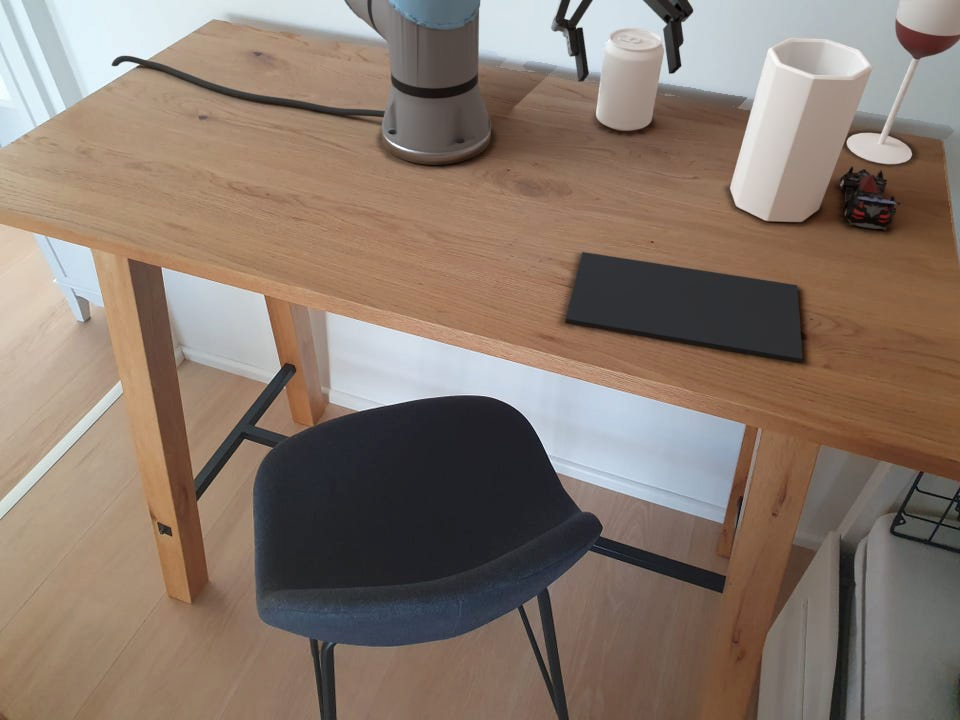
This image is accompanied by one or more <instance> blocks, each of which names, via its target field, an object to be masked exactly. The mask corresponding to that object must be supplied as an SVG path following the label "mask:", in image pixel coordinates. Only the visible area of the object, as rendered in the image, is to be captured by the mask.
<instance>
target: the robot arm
mask: <svg viewBox="0 0 960 720" xmlns="http://www.w3.org/2000/svg"><path fill="white" fill-rule="evenodd" d="M343 1H344V3H345V4H346V6H347V7H348V8H349V10H350V11H352V13H354V15H356V17H357V18H359V19H361V20H362V21H363V22H364V23H366V24H367V25H368V26H369V27H370V28H371V29H372V30H374V32H376V33H377V34H378V35H379V36H380V37H382V38H383V40H385V41H386V42H387V45H388V56H389V57H388V58H389V70H390V82H391V83H390V85H391V86H390V90H389V94H388V99H387V102H386V106H385V110H380V109H379V110H377V109H365V108H343V107H342V108H340V107H333V106H327V105H322V104H318V103H312V102H307V101H304V100H303V101H302V100H296V99H293V98H292V99H290V98H283V97H277V96H268V95H262V94H255V93H251V92H246V91H241V90H238V89H234V88H229V87H226V86H223V85H219V84H216V83H213V82H210V81H208V80H205V79H201V78H199V77H197V76H194V75H192V74H188V73H187V72H183V71H181V70H178V69H176V68H174V67H171V66H168V65H166V64H163V63H160V62H155V61H152V60H147V59H143V58H140V57H136V56H131V55H119V56H117V57H116V58H114V59H113V61H112V63H111V66H112V67H118V66H119V65H121V64H122V63H126V62H127V63H132V64H133V63H134V64H137V65H140V66H144V67H148V68H152V69H157V70H159V71H163V72H165V73H168V74H170V75H172V76H175V77H177V78H180V79H183V80H186V81H188V82H190V83H193V84H196V85H198V86H200V87H203V88H206V89H209V90H212V91H215V92H219V93H222V94H225V95H228V96H233V97H236V98H241V99H245V100H250V101H256V102H262V103H269V104H274V105H275V104H276V105H283V106H289V107H297V108H301V109H307V110H311V111H316V112H320V113H325V114H326V113H327V114H332V115H339V116H341V115H342V116H357V117H359V116H361V117H373V118H374V117H375V118H382V122H381V139H382V143H383V146H384V147H385V149H386V150H387V151H388V152H389V153H391V154H392V155H393V156H395V157H397V158H399V159H401V160H404V161H407V162H410V163H413V164H420V165H428V166H429V165H430V166H439V165H440V166H441V165H451V164H456V163H461V162H464V161H467V160H470V159H472V158H474V157H477V156H478V155H480V154H481V153H483V152H484V151H485V150H486V149H487V148H488V146H489V145H490V142H491V140H492V139H491V137H492V135H491V133H492V131H491V130H492V125H493V124H492V123H491V122H492V121H491V118H490V116H489V112H488V110H487V107H486V104H485V101H484V98H483V95H482V92H481V88H480V86H479V53H480V51H479V50H480V49H479V46H480V43H479V42H480V41H479V40H480V8H481V0H343ZM593 1H594V0H581V1H580V3H579V5H578V6H577V7H576V9H575V10H574V12H573V14H572V15H571V17H570V18H569V19H567V18H566V15H567V12H568V10H569V6H570V3H571V0H559V1H558V5H557V7H556V10H555V13H554V17H553V19H552V22H551V25H550V29H551V30H552V32H561V33H562V36H563V37H564V38H565V41H566V48H567V55H568V56H569V57H571V58H572V57H574V60H575V67H576V76H577V81H578V83H579V82H581V83H582V82H585V80H586V79H587V77H589V74H590V72H589V64H588V57H587V50H586V42H585V35H584V28H583V27H584V26H583V27H581V26H580V27H578V25H579V23H580V21H581V20H582V18H583V16H584V15H585V14H586V12H587V11H588V9H589V8H590V6H591V4H592V2H593ZM642 1H643V2H644V3H645V4H646V5H647V6H648V7H649V8H650V9H651V10H652V11H653V12H654V13H655V14H656V15H657V16H658V18H660V19H661V21H663V22H664V23H665V26H664V27H663V28H662V31H663V39H664V47H665V54H666V61H667V62H666V63H667V68H668V74H669V75H670V74H671V75H673V74H675V73H676V72H677V71H678V70H679V69H680V68H682V60H681V51H680V47H681V46H682V45H683V44H684V41H685V40H684V32H683V31H684V30H683V26H682V25H683V24H682V23H684V22H686V21H687V20H688V19H689V18H690V16H692V14H693V13H694V8H693V6H692V5H691V3H690V2H689V0H642Z"/></svg>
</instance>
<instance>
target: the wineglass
mask: <svg viewBox="0 0 960 720" xmlns="http://www.w3.org/2000/svg"><path fill="white" fill-rule="evenodd" d="M894 28H895V29H894V30H895V31H894V32H895V37H896V39H897V41H898V42H899V44H900V45H901V47H903V49H904V50H905V51H906V52H907V53H909V54H910V55H911V56H912V58H911V61H910V64H909V66H908V69H907V71H906V73H905V75H904V78H903V80H902V82H901V85H900V88H899V89H898V92H897V95H896V97H895V100H894V102H893V104H892V107H891V109H890V112H889V114H888V116H887V119H886V122H885V124H884V126H883V128H882V131H881V133H877V132H875V133H874V132H860V133H855V134H852V135H851V136H849V137H848V138H847V139H846V146H847V148H848V149H849V150H850V152H852V153H853V154H854V155H856V156H858V157H859V158H862V159H864V160H865V161H869V162H874V163H877V164H884V165H899V164H903V163H906V162H908V161H909V160H911V158H912V156H913V153H912V149H911V148H910V147H909V145H908V144H906V143H904V142H903V141H901V140H900V139H897V138H895V137H892V136H890V135H889V134H890V131H891V129H892V126H893V124H894V122H895V120H896V118H897V115H898V112H899V110H900V108H901V105H902V103H903V100H904V98H905V96H906V93H907V91H908V89H909V86H910V84H911V81H912V79H913V76H914V74H915V73H916V70H917V67H918V65H919V62H920V60H921V59H922V58H927V57H930V56H931V57H933V56H935V55H938V54H942V53H944V52H946V51H947V50H949V49H951V48H953V46H954V45H956V44H957V43H958V42H960V0H899V2H898V5H897V9H896V13H895V23H894Z"/></svg>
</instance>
